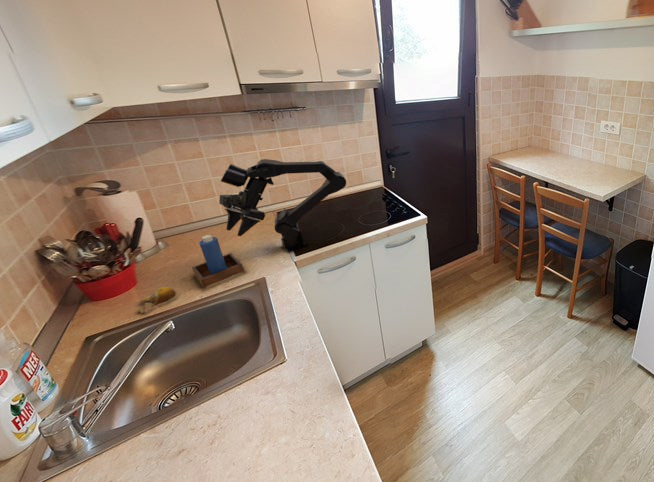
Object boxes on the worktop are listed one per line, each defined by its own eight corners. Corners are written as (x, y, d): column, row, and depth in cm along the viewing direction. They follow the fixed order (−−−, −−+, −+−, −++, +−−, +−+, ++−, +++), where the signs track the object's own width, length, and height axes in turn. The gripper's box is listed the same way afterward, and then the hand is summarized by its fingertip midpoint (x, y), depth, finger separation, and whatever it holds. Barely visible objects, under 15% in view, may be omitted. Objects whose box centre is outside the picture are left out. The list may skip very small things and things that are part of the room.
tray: (233, 261, 124) (230, 252, 122) (244, 272, 117) (241, 263, 116) (195, 276, 115) (191, 267, 114) (204, 289, 108) (201, 280, 107)
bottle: (225, 267, 119) (213, 231, 114) (229, 272, 116) (217, 235, 111) (209, 273, 115) (196, 237, 110) (213, 278, 113) (200, 241, 107)
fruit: (142, 300, 104) (138, 290, 102) (177, 289, 109) (173, 280, 107) (139, 314, 98) (134, 305, 96) (176, 302, 103) (172, 293, 101)
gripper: (218, 180, 118) (197, 221, 115) (241, 188, 108) (218, 233, 105) (250, 190, 127) (231, 229, 124) (274, 198, 117) (254, 240, 114)
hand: (233, 232), depth 116 cm, fingers open, 9 cm apart
